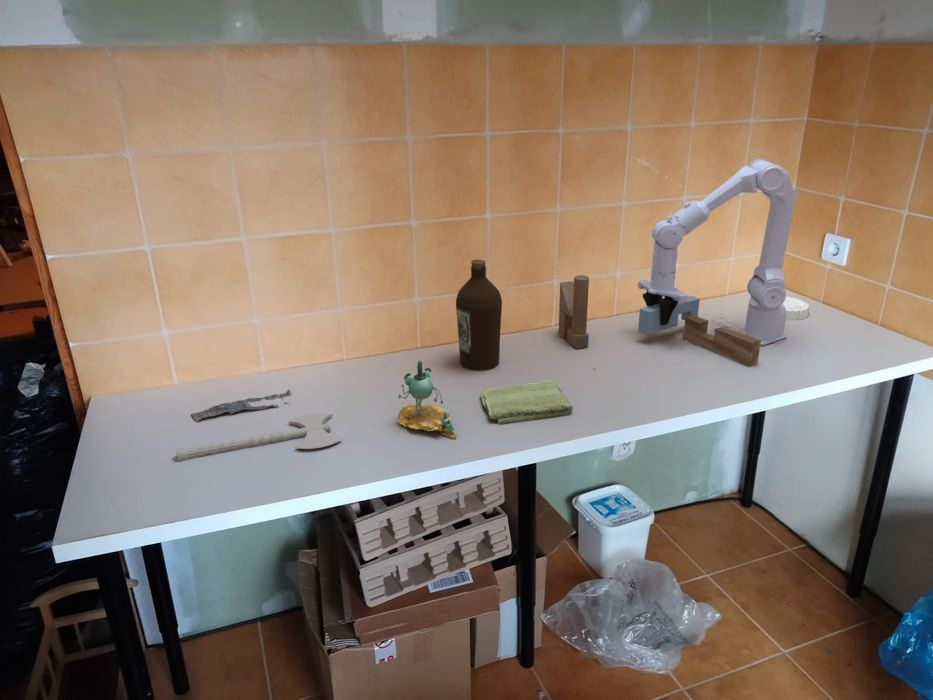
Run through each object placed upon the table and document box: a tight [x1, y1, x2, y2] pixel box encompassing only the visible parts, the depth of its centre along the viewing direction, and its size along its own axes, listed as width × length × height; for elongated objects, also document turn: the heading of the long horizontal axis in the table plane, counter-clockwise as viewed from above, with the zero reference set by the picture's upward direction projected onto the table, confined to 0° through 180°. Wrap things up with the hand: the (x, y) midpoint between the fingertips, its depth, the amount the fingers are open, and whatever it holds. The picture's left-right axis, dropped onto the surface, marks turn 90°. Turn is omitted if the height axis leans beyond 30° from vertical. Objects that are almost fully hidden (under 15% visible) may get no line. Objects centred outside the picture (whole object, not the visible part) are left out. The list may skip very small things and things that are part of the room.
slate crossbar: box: [637, 295, 701, 336], centre depth 179 cm, size 18×3×6 cm, turn 122°
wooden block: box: [558, 274, 590, 350], centre depth 176 cm, size 4×11×18 cm, turn 17°
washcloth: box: [480, 379, 574, 425], centre depth 147 cm, size 13×18×3 cm
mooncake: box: [783, 295, 810, 321], centre depth 195 cm, size 12×12×4 cm
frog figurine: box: [398, 359, 457, 440], centre depth 140 cm, size 10×18×15 cm, turn 29°
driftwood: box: [191, 389, 292, 422], centre depth 149 cm, size 21×7×2 cm, turn 110°
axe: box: [175, 412, 344, 462], centre depth 135 cm, size 30×14×2 cm, turn 110°
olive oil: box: [455, 259, 503, 371], centre depth 163 cm, size 11×11×25 cm
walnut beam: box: [682, 315, 761, 368], centre depth 171 cm, size 3×20×6 cm, turn 32°
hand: (658, 322), depth 178 cm, fingers closed on slate crossbar, 3 cm apart
